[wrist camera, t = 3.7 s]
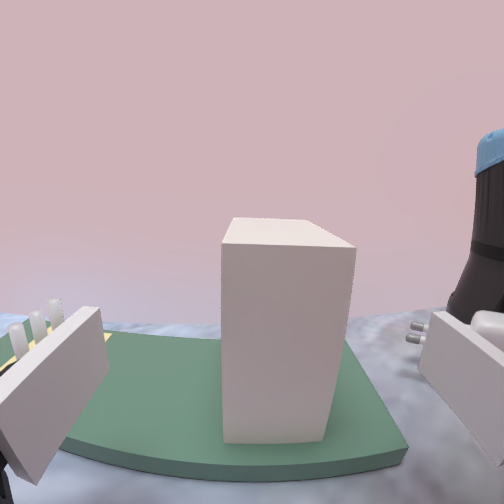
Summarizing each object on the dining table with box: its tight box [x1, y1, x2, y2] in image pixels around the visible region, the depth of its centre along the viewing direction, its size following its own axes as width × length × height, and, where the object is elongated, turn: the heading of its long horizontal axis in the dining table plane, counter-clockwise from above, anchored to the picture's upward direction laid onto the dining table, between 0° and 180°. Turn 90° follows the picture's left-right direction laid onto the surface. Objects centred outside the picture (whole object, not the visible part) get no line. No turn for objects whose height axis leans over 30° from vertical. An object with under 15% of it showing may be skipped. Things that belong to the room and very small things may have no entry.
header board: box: [0, 298, 409, 482], centre depth 17 cm, size 30×13×6 cm, turn 91°
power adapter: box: [406, 310, 504, 353], centre depth 19 cm, size 11×5×6 cm, turn 54°
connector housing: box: [221, 217, 357, 444], centre depth 17 cm, size 5×10×10 cm, turn 1°
